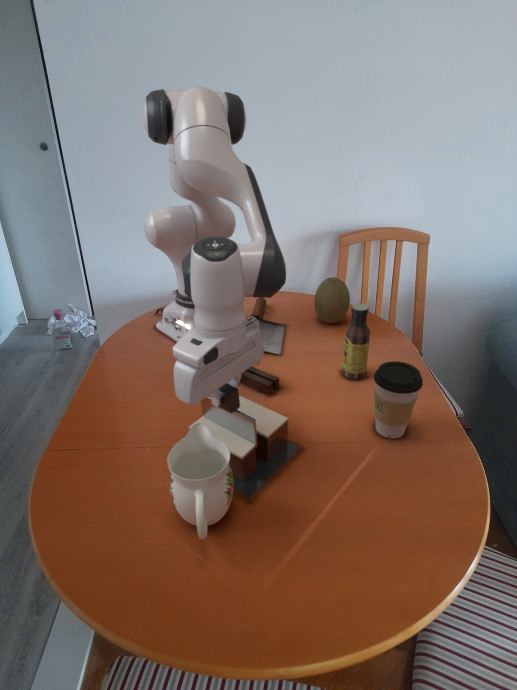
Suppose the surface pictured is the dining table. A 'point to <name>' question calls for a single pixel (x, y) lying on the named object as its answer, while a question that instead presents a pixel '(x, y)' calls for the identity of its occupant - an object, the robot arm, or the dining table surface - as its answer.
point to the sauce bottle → (356, 343)
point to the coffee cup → (395, 396)
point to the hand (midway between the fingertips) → (224, 398)
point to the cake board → (264, 470)
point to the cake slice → (234, 449)
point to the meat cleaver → (268, 329)
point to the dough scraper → (230, 414)
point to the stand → (259, 380)
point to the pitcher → (200, 478)
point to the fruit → (332, 300)
